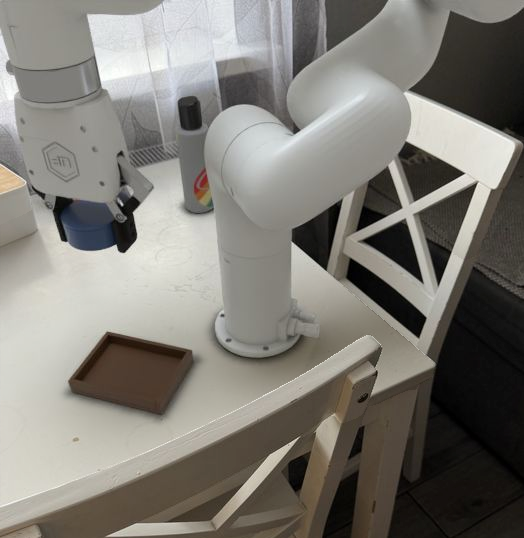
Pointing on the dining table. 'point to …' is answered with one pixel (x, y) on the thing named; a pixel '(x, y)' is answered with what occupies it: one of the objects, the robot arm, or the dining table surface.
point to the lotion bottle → (193, 155)
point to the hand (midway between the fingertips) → (99, 239)
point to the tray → (132, 372)
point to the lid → (88, 225)
